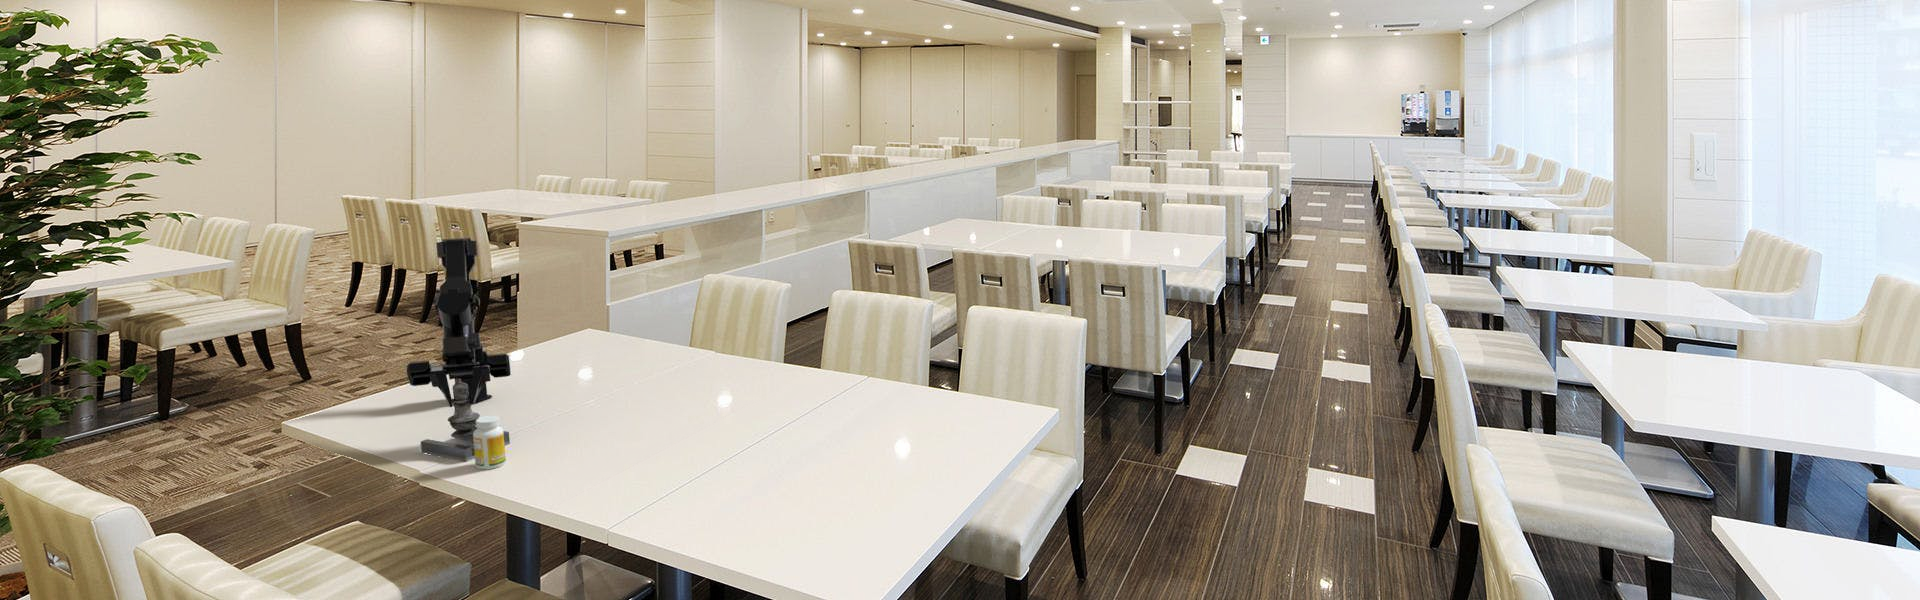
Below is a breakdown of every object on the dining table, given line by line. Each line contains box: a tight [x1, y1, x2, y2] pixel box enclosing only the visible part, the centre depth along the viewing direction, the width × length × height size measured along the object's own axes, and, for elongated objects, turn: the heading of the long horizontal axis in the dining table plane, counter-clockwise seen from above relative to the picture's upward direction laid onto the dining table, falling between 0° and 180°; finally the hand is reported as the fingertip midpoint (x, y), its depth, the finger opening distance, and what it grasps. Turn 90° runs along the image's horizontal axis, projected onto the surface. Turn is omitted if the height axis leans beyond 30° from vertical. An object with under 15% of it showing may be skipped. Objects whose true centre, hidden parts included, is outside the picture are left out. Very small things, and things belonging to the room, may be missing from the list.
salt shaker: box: [447, 378, 481, 439], centre depth 188 cm, size 6×6×12 cm
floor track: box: [420, 426, 511, 462], centre depth 189 cm, size 12×11×3 cm
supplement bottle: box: [473, 415, 507, 470], centre depth 180 cm, size 5×5×10 cm
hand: (461, 405), depth 187 cm, fingers closed on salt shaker, 4 cm apart
